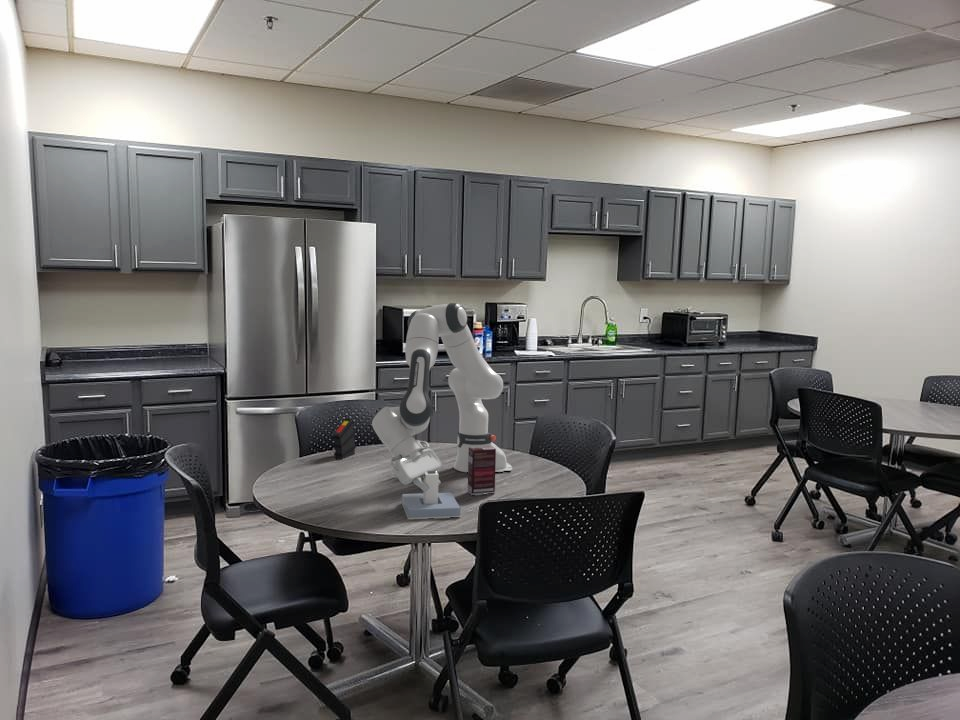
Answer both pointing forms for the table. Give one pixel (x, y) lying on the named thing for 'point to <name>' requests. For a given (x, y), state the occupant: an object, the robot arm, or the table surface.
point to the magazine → (344, 439)
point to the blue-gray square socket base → (430, 506)
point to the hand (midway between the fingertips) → (432, 487)
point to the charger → (431, 487)
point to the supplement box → (481, 470)
